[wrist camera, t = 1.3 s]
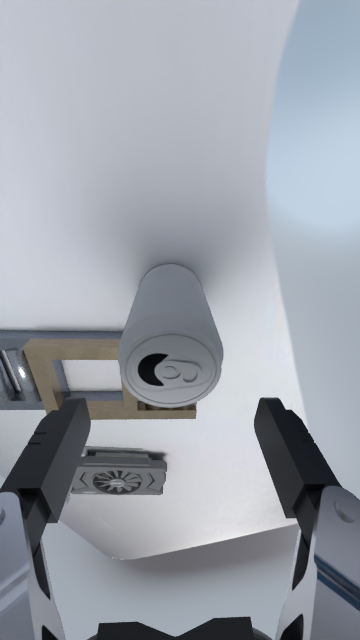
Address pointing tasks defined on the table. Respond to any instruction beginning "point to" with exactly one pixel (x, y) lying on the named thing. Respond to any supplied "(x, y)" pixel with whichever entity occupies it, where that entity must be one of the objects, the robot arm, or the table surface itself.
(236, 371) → the table surface
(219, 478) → the table surface
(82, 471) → the graphics card
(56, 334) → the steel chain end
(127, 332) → the beverage can
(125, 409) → the frame
